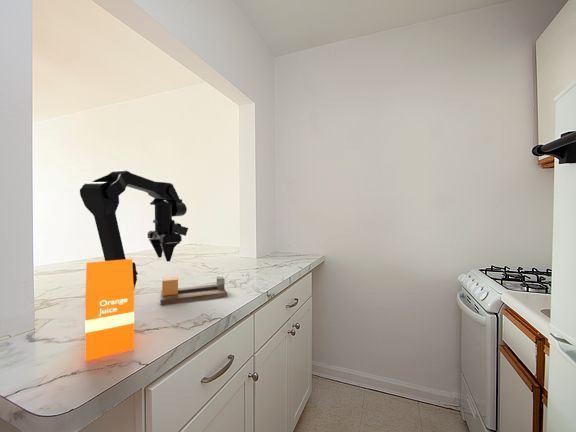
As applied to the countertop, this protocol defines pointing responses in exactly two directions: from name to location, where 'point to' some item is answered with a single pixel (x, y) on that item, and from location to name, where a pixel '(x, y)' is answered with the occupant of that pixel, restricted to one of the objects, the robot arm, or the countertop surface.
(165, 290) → the block
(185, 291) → the track
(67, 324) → the countertop surface
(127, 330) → the orange juice
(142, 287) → the countertop surface
